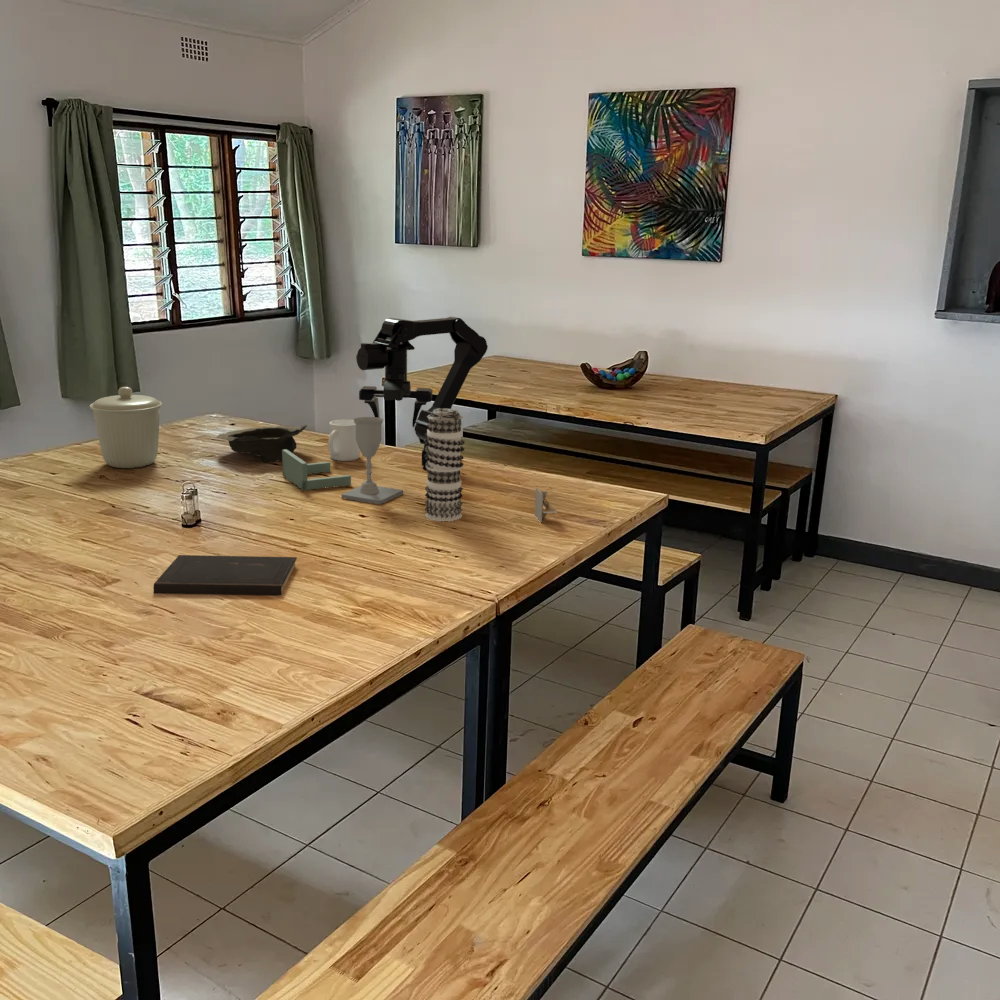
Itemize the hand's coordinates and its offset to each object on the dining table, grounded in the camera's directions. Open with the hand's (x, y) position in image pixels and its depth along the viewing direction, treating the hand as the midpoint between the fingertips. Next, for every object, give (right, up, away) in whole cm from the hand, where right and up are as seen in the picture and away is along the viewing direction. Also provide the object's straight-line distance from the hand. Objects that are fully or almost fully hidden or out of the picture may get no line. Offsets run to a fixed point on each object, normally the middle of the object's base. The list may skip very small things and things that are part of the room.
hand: (396, 426), depth 258 cm
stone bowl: (-40, -7, +19) cm, 45 cm away
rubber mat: (-4, -19, -18) cm, 26 cm away
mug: (-17, -8, +17) cm, 26 cm away
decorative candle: (+14, -23, -32) cm, 42 cm away
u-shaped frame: (-20, -14, -5) cm, 25 cm away
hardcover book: (-24, -35, -74) cm, 85 cm away
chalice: (-5, -18, -17) cm, 25 cm away
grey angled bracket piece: (+37, -25, -32) cm, 55 cm away
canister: (-72, -10, +6) cm, 73 cm away
